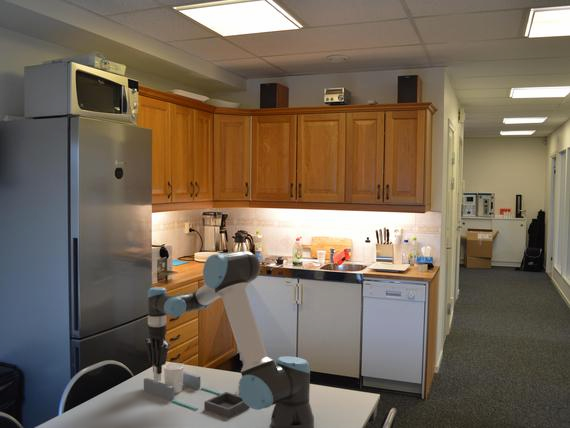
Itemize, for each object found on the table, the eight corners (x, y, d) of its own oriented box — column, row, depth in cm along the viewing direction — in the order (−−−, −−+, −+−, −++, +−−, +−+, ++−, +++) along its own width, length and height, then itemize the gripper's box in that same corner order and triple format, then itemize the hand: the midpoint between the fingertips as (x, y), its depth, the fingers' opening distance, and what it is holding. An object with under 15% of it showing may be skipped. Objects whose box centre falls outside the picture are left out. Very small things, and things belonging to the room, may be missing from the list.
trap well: (249, 406, 199) (249, 399, 199) (228, 417, 189) (228, 409, 189) (226, 399, 206) (226, 391, 206) (204, 409, 196) (204, 401, 196)
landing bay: (226, 396, 209) (226, 394, 209) (195, 410, 196) (195, 408, 196) (203, 388, 217) (203, 387, 217) (171, 401, 203) (171, 400, 203)
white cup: (162, 388, 217) (162, 364, 216) (181, 385, 220) (181, 361, 219) (166, 395, 210) (166, 370, 209) (185, 392, 213) (186, 367, 212)
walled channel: (200, 388, 217) (200, 376, 217) (170, 400, 204) (170, 388, 204) (173, 379, 226) (173, 368, 226) (143, 391, 213) (143, 378, 213)
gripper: (174, 325, 219) (174, 381, 220) (153, 320, 226) (154, 374, 227) (160, 329, 213) (160, 386, 214) (139, 324, 220) (139, 379, 221)
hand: (157, 380), depth 220 cm, fingers closed
